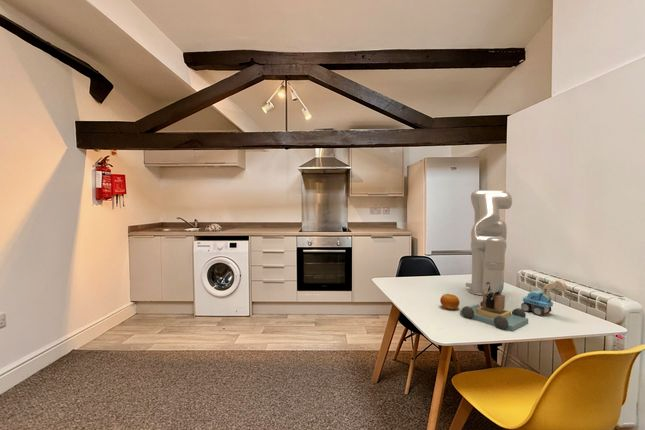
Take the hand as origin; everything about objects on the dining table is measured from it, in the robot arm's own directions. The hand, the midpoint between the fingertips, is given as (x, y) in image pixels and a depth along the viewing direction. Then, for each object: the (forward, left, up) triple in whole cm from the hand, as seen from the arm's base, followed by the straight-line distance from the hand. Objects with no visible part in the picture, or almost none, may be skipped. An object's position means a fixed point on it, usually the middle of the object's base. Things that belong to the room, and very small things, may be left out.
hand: (493, 306), depth 134 cm
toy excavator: (+10, +26, -6) cm, 29 cm away
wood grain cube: (0, 0, -1) cm, 1 cm away
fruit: (-19, -3, -6) cm, 20 cm away
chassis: (0, 0, -6) cm, 6 cm away
